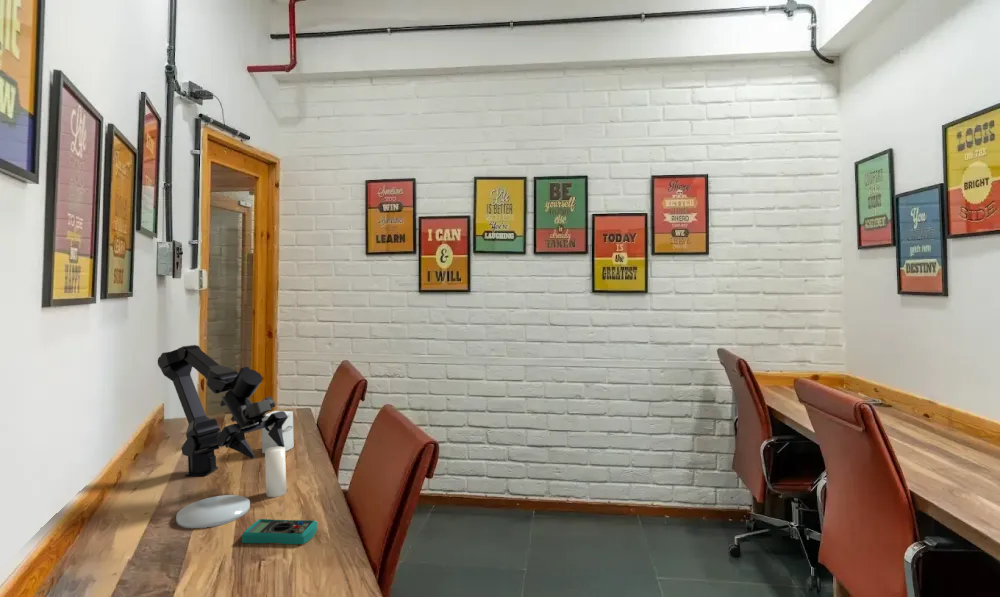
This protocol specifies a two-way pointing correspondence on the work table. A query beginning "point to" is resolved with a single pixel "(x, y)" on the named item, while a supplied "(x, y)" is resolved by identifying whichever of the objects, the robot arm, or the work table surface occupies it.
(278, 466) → the white cylindrical post
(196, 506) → the plate
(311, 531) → the digital multimeter
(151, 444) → the work table surface
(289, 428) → the supplement box
